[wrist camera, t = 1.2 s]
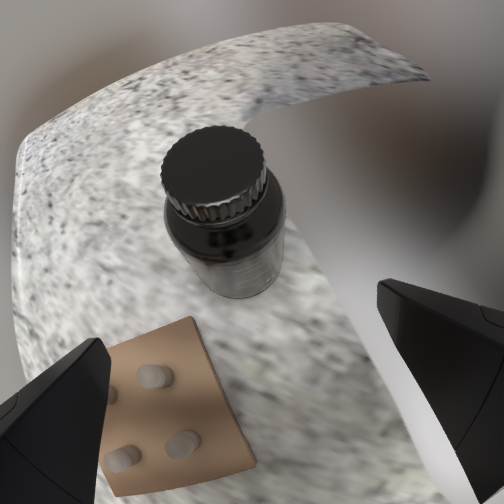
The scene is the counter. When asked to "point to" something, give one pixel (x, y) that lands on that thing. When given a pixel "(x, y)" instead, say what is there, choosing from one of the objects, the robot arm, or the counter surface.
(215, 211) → the supplement bottle
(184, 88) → the counter surface
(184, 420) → the peg stand
